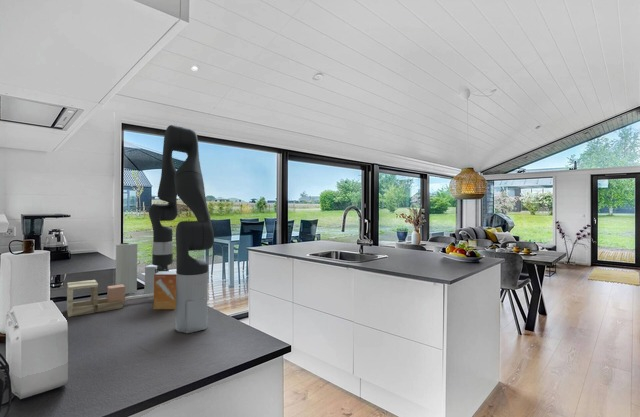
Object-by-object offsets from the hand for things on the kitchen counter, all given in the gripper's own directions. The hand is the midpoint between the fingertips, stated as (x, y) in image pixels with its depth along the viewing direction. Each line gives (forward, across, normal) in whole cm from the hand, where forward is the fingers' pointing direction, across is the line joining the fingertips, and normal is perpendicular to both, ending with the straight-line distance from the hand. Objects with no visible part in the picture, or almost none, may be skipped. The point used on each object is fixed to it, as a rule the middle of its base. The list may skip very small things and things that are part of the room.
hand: (162, 294), depth 131 cm
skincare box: (+2, +11, +1) cm, 11 cm away
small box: (+2, -13, +1) cm, 13 cm away
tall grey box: (+2, +18, +10) cm, 21 cm away
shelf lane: (+2, 0, +22) cm, 22 cm away
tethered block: (0, 0, +9) cm, 9 cm away
